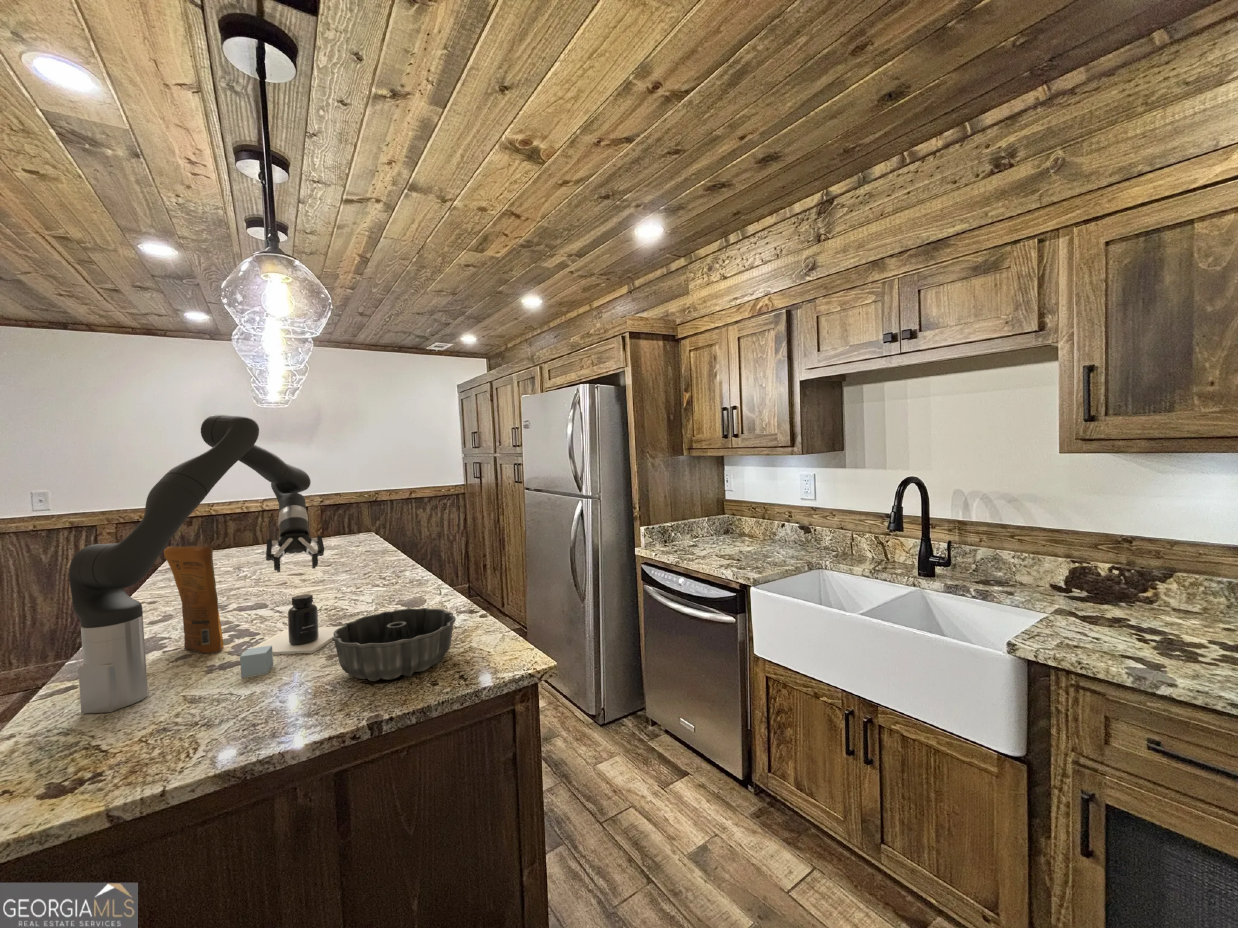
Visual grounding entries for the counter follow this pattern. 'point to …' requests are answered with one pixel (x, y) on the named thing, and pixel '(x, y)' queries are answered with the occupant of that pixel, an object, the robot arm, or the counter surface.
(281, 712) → the counter surface
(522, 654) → the counter surface
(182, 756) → the counter surface
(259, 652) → the blue block
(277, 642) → the mat
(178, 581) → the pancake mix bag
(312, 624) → the supplement bottle
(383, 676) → the bundt pan
